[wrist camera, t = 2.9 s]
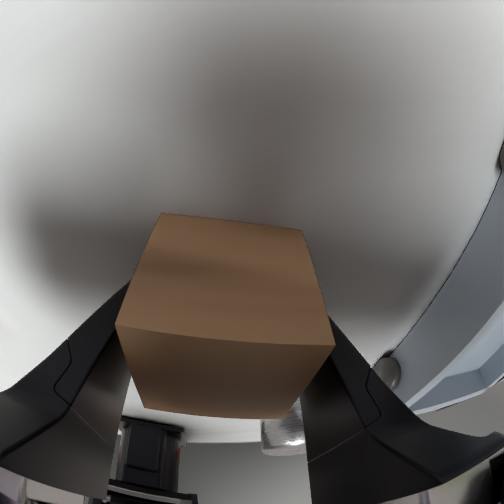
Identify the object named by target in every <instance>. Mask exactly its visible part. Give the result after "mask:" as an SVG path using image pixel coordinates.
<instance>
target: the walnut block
mask: <svg viewBox="0 0 504 504" xmlns="http://www.w3.org/2000/svg"><path fill="white" fill-rule="evenodd" d="M115 327H116V330H117V334H118V337H119V340H120V343H121V346H122V349H123V352H124V355H125V358H126V361H127V364H128V367H129V370H130V373H131V375H132V378H133V381H134V383H135V386H136V388H137V391H138V393H139V396H140V398H141V401H142V403H143V406H144V408H148V409H154V410H160V411H167V412H173V413H181V414H189V415H198V416H209V417H221V418H239V419H282V418H283V417H284V416H285V415H286V413H287V412H288V411H289V410H290V408H291V407H292V406H293V404H294V403H295V402H296V400H297V399H298V398H299V397H300V395H301V394H302V393H303V391H304V390H305V389H306V387H307V386H308V384H309V383H310V382H311V380H312V379H313V378H314V376H315V375H316V373H317V372H318V371H319V369H320V368H321V366H322V365H323V363H324V362H325V360H326V359H327V357H328V356H329V355H330V353H331V352H332V350H333V348H334V347H335V341H334V337H333V333H332V329H331V326H330V322H329V318H328V315H327V311H326V308H325V304H324V301H323V297H322V294H321V290H320V287H319V284H318V280H317V277H316V274H315V270H314V267H313V264H312V260H311V257H310V254H309V251H308V248H307V245H306V241H305V238H304V235H303V232H302V230H295V229H288V228H281V227H274V226H266V225H259V224H251V223H243V222H236V221H228V220H219V219H211V218H203V217H194V216H185V215H176V214H167V213H161V214H160V216H159V218H158V221H157V223H156V225H155V227H154V229H153V231H152V234H151V236H150V238H149V240H148V242H147V245H146V247H145V249H144V251H143V254H142V256H141V258H140V261H139V263H138V266H137V268H136V270H135V273H134V275H133V278H132V280H131V283H130V285H129V288H128V290H127V293H126V295H125V298H124V301H123V303H122V306H121V309H120V311H119V314H118V317H117V320H116V322H115Z"/></svg>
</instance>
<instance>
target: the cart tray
mask: <svg viewBox="0 0 504 504" xmlns="http://www.w3.org/2000/svg"><path fill="white" fill-rule="evenodd" d="M500 163H501V168H502V173H501V175H500V178H499V180H498V183H497V185H496V188H495V190H494V193H493V195H492V197H491V199H490V202H489V204H488V206H487V208H486V210H485V212H484V215H483V217H482V219H481V221H480V223H479V225H478V227H477V229H476V231H475V233H474V234H473V236H472V238H471V240H470V242H469V244H468V246H467V247H466V249H465V251H464V253H463V254H462V256H461V258H460V259H459V261H458V263H457V265H456V266H455V268H454V269H453V271H452V273H451V274H450V276H449V277H448V279H447V281H446V282H445V284H444V285H443V287H442V288H441V290H440V291H439V293H438V294H437V296H436V297H435V299H434V300H433V301H432V303H431V304H430V306H429V307H428V308H427V310H426V311H425V313H424V314H423V315H422V317H421V318H420V319H419V321H418V322H417V323H416V325H415V326H414V327H413V328H412V330H411V331H410V332H409V334H408V335H407V336H406V337H405V339H404V340H403V341H402V342H401V343H400V345H399V346H398V347H397V348H396V349H395V351H394V352H393V353H392V354H391V355H390V356H389V358H381V359H380V360H379V361H378V362H377V363H376V365H375V368H374V371H375V372H376V373H377V375H378V376H379V377H380V378H381V379H382V380H383V381H384V383H385V384H386V385H387V386H388V387H389V388H390V389H391V390H392V391H393V392H394V393H395V394H396V395H397V396H398V397H399V398H400V399H401V400H402V401H403V402H404V403H405V404H406V405H407V406H408V407H409V408H410V409H411V410H412V411H413V412H414V413H415V414H416V415H417V414H421V413H425V412H428V411H432V410H435V409H439V408H442V407H445V406H448V405H451V404H454V403H457V402H460V401H463V400H466V399H469V398H471V397H474V396H476V395H479V394H481V393H484V392H486V391H487V390H488V389H489V388H490V387H491V386H493V385H494V384H495V383H496V382H497V381H498V380H499V379H500V378H502V377H503V376H504V144H503V146H502V149H501V153H500Z"/></svg>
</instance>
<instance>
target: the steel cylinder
mask: <svg viewBox="0 0 504 504" xmlns="http://www.w3.org/2000/svg"><path fill="white" fill-rule="evenodd" d="M260 426H261V445H262V453H264V454H267V455H274V456H288V455H298V454H305V453H306V444H305V436H304V428H303V420H302V413H301V405H300V397H299V398H298V399H297V400H296V402H295V403H294V404H293V406H292V407H291V408H290V410H289V411H288V412H287V413H286V415H285V416H284V417H283V418H282V419H260Z"/></svg>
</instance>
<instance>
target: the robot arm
mask: <svg viewBox="0 0 504 504" xmlns="http://www.w3.org/2000/svg"><path fill="white" fill-rule="evenodd" d="M131 280H132V279H131ZM131 280H130V281H129V282H128V283H127V284H125V285H124V286H123V287H122V288H121V289H120V290H119V291H118V292H116V293H115V294H114V295H113V296H112V297H111V298H110V299H109V300H108V301H106V302H105V303H104V304H103V305H102V306H101V307H100V308H99V309H98V310H97V311H96V312H94V313H93V314H92V315H91V316H90V317H89V318H88V319H87V320H86V321H85V322H84V323H83V324H82V325H81V326H80V327H79V328H78V329H76V330H75V331H74V332H73V333H72V334H71V335H70V336H69V337H68V339H66V340H65V341H64V342H63V343H62V344H61V345H60V346H59V347H58V348H57V349H56V350H55V351H54V352H52V353H51V354H50V355H49V356H48V357H47V358H46V359H45V360H43V361H42V362H41V363H40V364H39V365H38V366H36V367H35V368H34V369H33V370H31V371H30V372H29V373H28V374H27V375H25V376H24V377H23V378H22V379H21V380H19V381H18V382H17V383H16V384H15V385H13V386H12V387H10V388H9V389H7V390H5V391H2V392H0V504H84V498H85V496H88V497H90V498H89V503H88V504H174V503H167V502H161V501H155V500H150V499H145V498H139V497H135V496H130V495H126V494H122V493H119V492H115V491H111V490H108V485H109V486H113V487H116V488H120V489H124V490H129V491H133V492H137V493H142V494H146V495H152V496H158V497H163V498H169V499H176V500H181V502H180V504H198V500H197V494H183V493H178V479H179V463H180V448H181V447H186V437H185V429H183V428H180V427H173V426H166V425H160V424H154V423H148V422H143V421H138V420H133V419H128V418H124V417H121V415H122V411H123V406H124V402H125V398H126V394H127V390H128V386H129V382H130V378H131V373H130V370H129V367H128V364H127V361H126V358H125V355H124V352H123V349H122V346H121V343H120V340H119V337H118V334H117V330H116V327H115V322H116V320H117V317H118V314H119V311H120V309H121V306H122V303H123V301H124V298H125V295H126V293H127V290H128V288H129V285H130V283H131ZM328 318H329V322H330V326H331V329H332V333H333V337H334V341H335V347H334V348H333V350H332V352H331V353H330V355H329V356H328V357H327V359H326V360H325V362H324V363H323V365H322V366H321V368H320V369H319V371H318V372H317V373H316V375H315V376H314V378H313V379H312V380H311V382H310V383H309V384H308V386H307V387H306V389H305V390H304V391H303V393H302V394H301V395H300V405H301V413H302V420H303V428H304V436H305V444H306V453H307V461H308V470H309V479H310V489H311V499H312V504H504V451H502V452H501V453H499V454H497V455H495V456H494V457H492V458H490V459H488V458H489V457H490V456H492V455H493V454H495V453H496V452H497V451H499V450H500V449H502V448H503V447H504V434H502V433H499V432H496V431H495V432H493V433H491V434H489V435H488V436H485V437H475V436H470V435H465V434H461V433H458V432H454V431H449V430H446V429H442V428H438V427H435V426H432V425H429V424H427V423H426V422H424V421H422V420H421V419H420V418H419V417H418V416H416V414H415V413H414V412H413V411H412V410H411V409H410V408H409V407H408V406H407V405H406V404H405V403H404V402H403V401H402V400H401V399H400V398H399V397H398V396H397V395H396V394H395V393H394V392H393V391H392V390H391V389H390V388H389V387H388V386H387V385H386V384H385V383H384V381H383V380H382V379H381V378H380V377H379V376H378V375H377V373H376V372H375V371H374V370H373V368H370V365H369V364H368V362H367V361H366V360H365V359H364V358H363V356H362V355H361V354H360V353H359V352H358V350H357V349H356V348H355V347H354V346H353V344H352V343H351V342H350V341H349V340H348V338H347V337H346V336H345V335H344V334H343V332H342V331H341V330H340V329H339V328H338V326H337V325H336V324H335V323H334V322H333V320H332V319H331V318H330V317H329V316H328ZM118 428H119V429H120V430H121V431H122V436H121V442H120V448H119V455H118V462H117V470H116V478H115V480H113V479H110V478H109V477H110V471H111V465H112V459H113V454H114V448H115V442H116V438H117V433H118ZM106 498H108V499H110V502H107V503H105V501H106Z"/></svg>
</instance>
